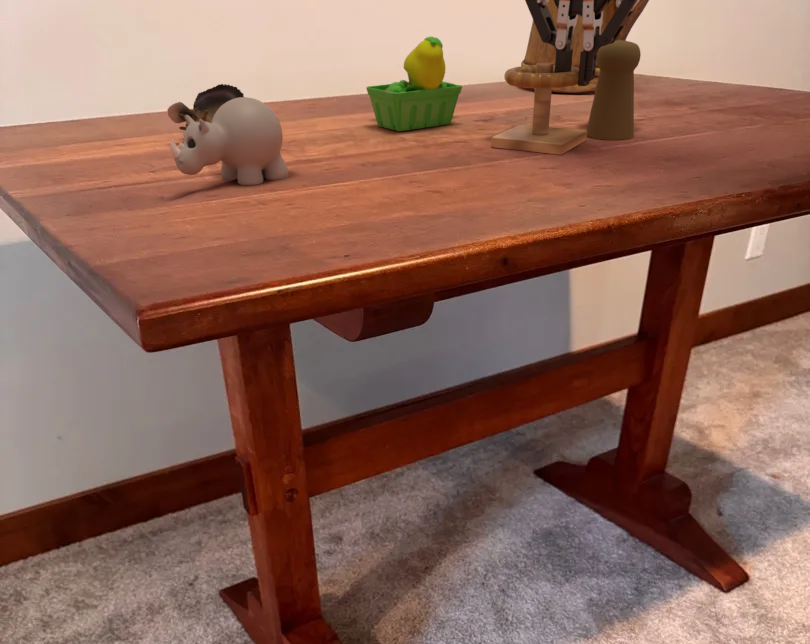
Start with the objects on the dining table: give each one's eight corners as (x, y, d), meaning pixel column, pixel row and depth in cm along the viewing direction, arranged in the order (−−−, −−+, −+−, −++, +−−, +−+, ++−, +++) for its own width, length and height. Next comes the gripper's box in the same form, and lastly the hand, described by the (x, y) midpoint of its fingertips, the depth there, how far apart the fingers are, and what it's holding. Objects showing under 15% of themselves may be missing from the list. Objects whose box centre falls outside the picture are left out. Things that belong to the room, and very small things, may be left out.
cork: (585, 139, 100) (595, 43, 95) (585, 129, 105) (594, 38, 100) (635, 140, 99) (647, 43, 94) (632, 130, 105) (644, 38, 99)
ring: (593, 80, 96) (594, 65, 95) (567, 90, 89) (568, 75, 89) (522, 76, 100) (523, 63, 100) (492, 86, 93) (492, 72, 93)
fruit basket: (430, 116, 115) (430, 30, 109) (470, 125, 109) (472, 34, 103) (364, 126, 109) (361, 35, 103) (402, 136, 103) (401, 41, 97)
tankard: (555, 75, 149) (568, -81, 136) (672, 88, 135) (698, -86, 122) (496, 87, 138) (504, -83, 125) (617, 102, 124) (639, -88, 111)
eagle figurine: (229, 139, 97) (261, 112, 103) (189, 88, 94) (224, 63, 101) (191, 169, 101) (224, 141, 108) (152, 120, 99) (188, 95, 105)
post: (586, 140, 100) (594, 60, 95) (561, 154, 93) (568, 70, 88) (519, 133, 104) (524, 57, 99) (490, 147, 97) (494, 65, 92)
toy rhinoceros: (162, 191, 81) (147, 103, 77) (264, 172, 88) (256, 89, 83) (194, 206, 76) (180, 113, 72) (300, 184, 83) (293, 97, 78)
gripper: (515, -89, 85) (506, 85, 93) (644, -93, 79) (622, 93, 87) (541, -88, 90) (531, 76, 99) (664, -91, 84) (641, 84, 93)
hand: (574, 84), depth 93 cm, fingers closed on ring, 2 cm apart
